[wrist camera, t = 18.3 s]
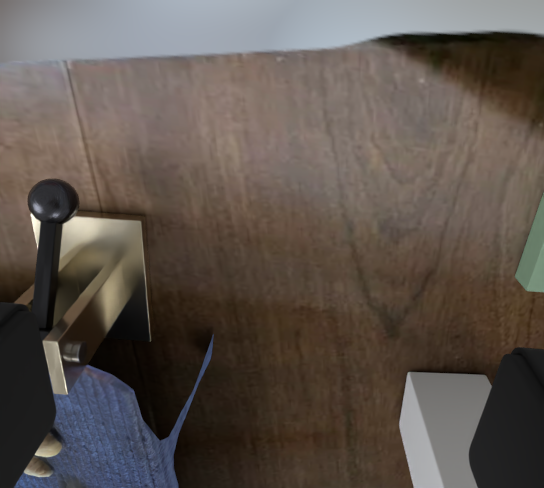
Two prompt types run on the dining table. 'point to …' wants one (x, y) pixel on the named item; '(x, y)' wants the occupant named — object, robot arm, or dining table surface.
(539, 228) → the green push button box
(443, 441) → the milk carton
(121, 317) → the metal lever base
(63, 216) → the lever switch
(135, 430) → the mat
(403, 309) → the dining table surface
